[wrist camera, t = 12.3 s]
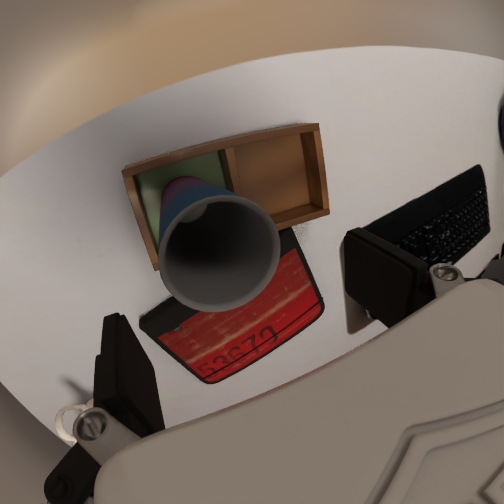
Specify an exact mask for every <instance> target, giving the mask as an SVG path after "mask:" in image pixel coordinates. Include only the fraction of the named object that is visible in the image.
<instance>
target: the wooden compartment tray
mask: <svg viewBox="0 0 504 504" xmlns="http://www.w3.org/2000/svg"><path fill="white" fill-rule="evenodd" d="M319 130H320V128H319V123H300V124H293V125H287V126H281V127H275V128H270V129H264V130H259V131H254V132H249V133H244V134H240V135H235V136H230V137H226V138H222V139H217V140H213V141H209V142H205V143H201V144H197V145H194V146H190V147H186V148H182V149H179V150H175V151H172V152H168V153H165V154H162V155H158V156H155V157H152V158H149V159H145V160H142V161H139V162H136V163H133V164H130V165H127V166H125V167H124V168H123V169H122V174H123V178H124V181H125V185H126V188H127V191H128V195H129V198H130V201H131V204H132V207H133V211H134V214H135V217H136V220H137V223H138V226H139V229H140V232H141V235H142V237H143V240H144V243H145V246H146V249H147V252H148V254H149V257H150V260H151V262H152V265H153V268H154V270H155V271H157V270H159V267H158V241H159V221H160V206H161V196H162V193H163V190H164V188H165V187H166V186H167V184H168V183H169V182H170V181H172V180H173V179H175V178H177V177H180V176H193V177H196V178H198V179H201V180H203V181H206V182H208V183H211V184H213V185H215V186H218V187H220V188H223V189H225V190H228V191H230V192H232V193H235V194H237V195H239V196H242V197H244V198H246V199H249V200H251V201H253V202H255V203H256V204H258V205H259V206H260V207H262V208H263V209H264V210H265V211H266V212H267V213H268V214H269V216H270V217H271V218H272V220H273V222H274V223H275V225H276V227H277V230H278V231H279V230H282V229H285V228H288V227H291V226H294V225H297V224H300V223H304V222H307V221H310V220H313V219H316V218H319V217H322V216H326V215H329V214H330V210H329V199H328V190H327V181H326V172H325V164H324V157H323V149H322V142H321V135H320V131H319Z"/></svg>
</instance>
